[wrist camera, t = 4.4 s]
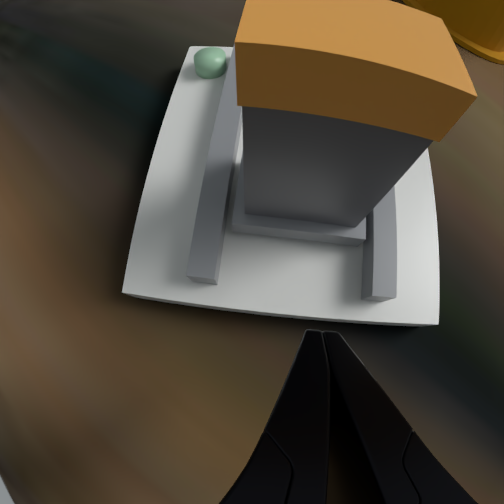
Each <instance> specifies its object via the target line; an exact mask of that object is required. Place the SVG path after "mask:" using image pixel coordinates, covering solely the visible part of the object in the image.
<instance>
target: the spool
mask: <svg viewBox="0 0 504 504" xmlns="http://www.w3.org/2000/svg"><path fill="white" fill-rule="evenodd" d="M402 1H403V2H404V3H405V4H406V5H407V6H409V7H412V8H415V9H418V10H420V11H423V12H426V13H428V14H431V15H434V16H436V17H439V18H441V19H442V20H443V22H444V24H445V26H446V28H447V30H448V32H449V34H450V36H451V37H452V39H453V41H454V42H456V43H457V44H459V45H460V46H462V47H464V48H465V49H467V50H469V51H471V52H472V53H474V54H476V55H478V56H480V57H482V58H484V59H486V60H489V61H492V62H494V63H497V64H503V65H504V0H402Z"/></svg>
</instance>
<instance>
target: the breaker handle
mask: <svg viewBox="0 0 504 504" xmlns="http://www.w3.org/2000/svg"><path fill="white" fill-rule="evenodd" d="M235 65H236V90H237V106H242V128H243V151H242V157H241V164H240V170H239V177H238V184H237V191H236V197H235V204H234V211H233V218H232V229H233V232H237V233H246V234H255V235H264V236H273V237H281V238H290V239H299V240H307V241H315V242H324V243H332V244H340V245H348V246H356V247H358V246H359V245H360V244H361V243H362V242H364V241H365V240H366V216H367V215H368V214H369V213H370V212H371V211H372V210H373V208H374V207H375V206H376V205H377V204H378V203H379V202H380V201H381V200H382V199H383V197H384V196H385V195H386V194H387V193H388V192H389V191H390V190H391V189H392V188H393V186H394V185H395V184H396V183H397V182H398V181H399V180H400V179H401V177H402V176H403V175H404V174H405V173H406V172H407V171H408V169H409V168H410V167H411V166H412V165H413V164H414V163H415V161H416V160H417V159H418V158H419V157H420V156H421V155H422V153H423V152H424V151H425V150H426V149H427V148H428V146H429V145H430V144H431V143H432V142H433V140H434V141H437V142H440V141H441V139H442V138H443V137H444V136H445V135H446V134H447V133H448V131H449V130H450V129H451V128H452V127H453V126H454V124H455V123H456V122H457V121H458V120H459V118H460V117H461V116H462V115H463V114H464V112H465V111H466V110H467V109H468V108H469V106H470V105H471V104H472V103H473V102H474V100H475V99H476V98H477V94H476V91H475V89H474V86H473V84H472V81H471V79H470V76H469V74H468V72H467V69H466V67H465V65H464V63H463V60H462V58H461V56H460V54H459V52H458V50H457V48H456V45H455V43H454V41H453V39H452V37H451V36H450V34H449V32H448V30H447V28H446V26H445V24H444V22H443V20H442V19H441V18H439V17H436V16H434V15H431V14H428V13H426V12H423V11H420V10H418V9H415V8H412V7H409V6H406V5H403V4H400V3H397V2H393V1H390V0H246V3H245V7H244V10H243V14H242V17H241V21H240V24H239V28H238V31H237V35H236V39H235Z"/></svg>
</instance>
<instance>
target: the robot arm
mask: <svg viewBox="0 0 504 504" xmlns="http://www.w3.org/2000/svg"><path fill="white" fill-rule="evenodd" d="M219 504H478V503H477V502H476V501H475V500H474V499H473V498H472V497H471V496H470V495H469V494H468V493H467V492H466V491H465V490H464V489H463V488H462V487H461V486H460V484H459V483H458V482H457V481H456V480H455V479H454V478H453V477H452V476H451V475H450V474H449V473H448V472H447V471H446V469H445V468H444V467H443V466H442V465H441V464H440V463H439V462H438V460H437V459H436V458H435V457H434V456H433V455H432V453H431V452H430V451H429V449H428V448H427V447H426V446H425V444H424V443H423V442H422V441H421V439H420V438H419V437H418V435H417V434H416V433H415V431H412V427H411V426H410V425H409V423H408V422H407V421H406V419H405V418H404V417H403V415H402V414H401V413H400V411H399V410H398V409H397V407H396V406H395V405H394V403H393V402H392V401H391V400H390V398H389V397H388V396H387V394H386V393H385V392H384V390H383V389H382V388H381V386H380V385H379V384H378V382H377V381H376V380H375V379H374V377H373V376H372V375H371V373H370V372H369V371H368V369H367V368H366V367H365V366H364V364H363V363H362V362H361V360H360V359H359V358H358V356H357V355H356V354H355V353H354V351H353V350H352V349H351V347H350V346H349V345H348V344H347V342H346V341H345V340H344V338H343V337H342V336H341V335H340V333H338V332H336V331H323V332H321V331H320V330H310V329H307V330H306V331H305V333H304V335H303V338H302V340H301V343H300V346H299V348H298V351H297V353H296V356H295V358H294V361H293V363H292V366H291V368H290V371H289V373H288V375H287V378H286V380H285V383H284V385H283V387H282V390H281V392H280V394H279V397H278V399H277V401H276V404H275V406H274V408H273V411H272V413H271V415H270V417H269V420H268V422H267V424H266V426H265V429H264V431H263V433H262V435H261V437H260V439H259V441H258V443H257V445H256V447H255V449H254V451H253V453H252V455H251V457H250V459H249V461H248V463H247V464H246V466H245V468H244V469H243V471H242V472H241V474H240V475H239V477H238V478H237V480H236V481H235V483H234V484H233V486H232V487H231V488H230V490H229V491H228V492H227V494H226V495H225V496H224V498H223V499H222V500H221V502H220V503H219Z"/></svg>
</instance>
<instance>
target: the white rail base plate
mask: <svg viewBox="0 0 504 504" xmlns="http://www.w3.org/2000/svg"><path fill="white" fill-rule="evenodd" d="M242 151H243V128H242V106H237V90H236V65H235V43H234V47H205V46H192V47H190V48H189V51H188V53H187V56H186V58H185V61H184V63H183V66H182V69H181V71H180V74H179V77H178V79H177V82H176V85H175V88H174V90H173V93H172V96H171V99H170V102H169V105H168V108H167V111H166V114H165V117H164V120H163V123H162V126H161V130H160V133H159V136H158V139H157V143H156V146H155V149H154V153H153V156H152V160H151V163H150V167H149V171H148V174H147V178H146V182H145V186H144V189H143V193H142V197H141V201H140V206H139V210H138V214H137V218H136V223H135V227H134V232H133V236H132V241H131V246H130V251H129V256H128V261H127V267H126V272H125V278H124V283H123V289H122V293H125V294H127V295H130V296H133V297H136V298H142V299H148V300H154V301H161V302H167V303H174V304H181V305H187V306H195V307H202V308H209V309H217V310H225V311H233V312H241V313H250V314H259V315H268V316H277V317H287V318H298V319H309V320H321V321H333V322H346V323H361V324H377V325H397V326H430V325H438V323H439V248H438V230H437V217H436V207H435V197H434V188H433V181H432V173H431V166H430V160H429V154H428V148H427V149H426V150H425V151H424V152H423V153H422V155H421V156H420V157H419V158H418V159H417V160H416V161H415V163H414V164H413V165H412V166H411V167H410V168H409V169H408V171H407V172H406V173H405V174H404V175H403V176H402V177H401V179H400V180H399V181H398V182H397V183H396V184H395V185H394V186H393V188H392V189H391V190H390V191H389V192H388V193H387V194H386V195H385V196H384V197H383V199H382V200H381V201H380V202H379V203H378V204H377V205H376V206H375V207H374V208H373V210H372V211H371V212H370V213H369V214H368V215H367V216H366V240H365V241H364V242H362V243H361V244H360V245H359V246H358V247H356V246H348V245H340V244H332V243H324V242H315V241H307V240H299V239H290V238H281V237H273V236H264V235H255V234H246V233H237V232H233V229H232V218H233V211H234V204H235V197H236V191H237V184H238V177H239V170H240V164H241V157H242Z"/></svg>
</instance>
